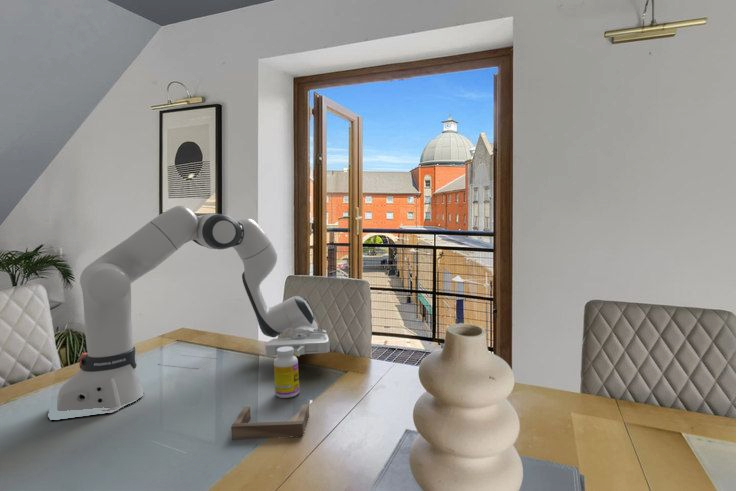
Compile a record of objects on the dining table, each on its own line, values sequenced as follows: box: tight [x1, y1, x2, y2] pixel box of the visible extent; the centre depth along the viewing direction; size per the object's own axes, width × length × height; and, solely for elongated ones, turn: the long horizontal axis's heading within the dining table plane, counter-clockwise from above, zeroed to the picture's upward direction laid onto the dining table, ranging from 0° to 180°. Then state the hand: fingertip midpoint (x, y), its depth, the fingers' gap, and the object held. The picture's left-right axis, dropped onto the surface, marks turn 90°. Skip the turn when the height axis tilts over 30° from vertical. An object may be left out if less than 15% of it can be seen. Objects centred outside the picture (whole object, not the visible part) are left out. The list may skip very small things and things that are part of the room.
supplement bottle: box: [273, 346, 300, 399], centre depth 122 cm, size 7×7×13 cm
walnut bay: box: [230, 403, 310, 440], centre depth 104 cm, size 10×16×3 cm, turn 90°
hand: (294, 354), depth 133 cm, fingers closed
